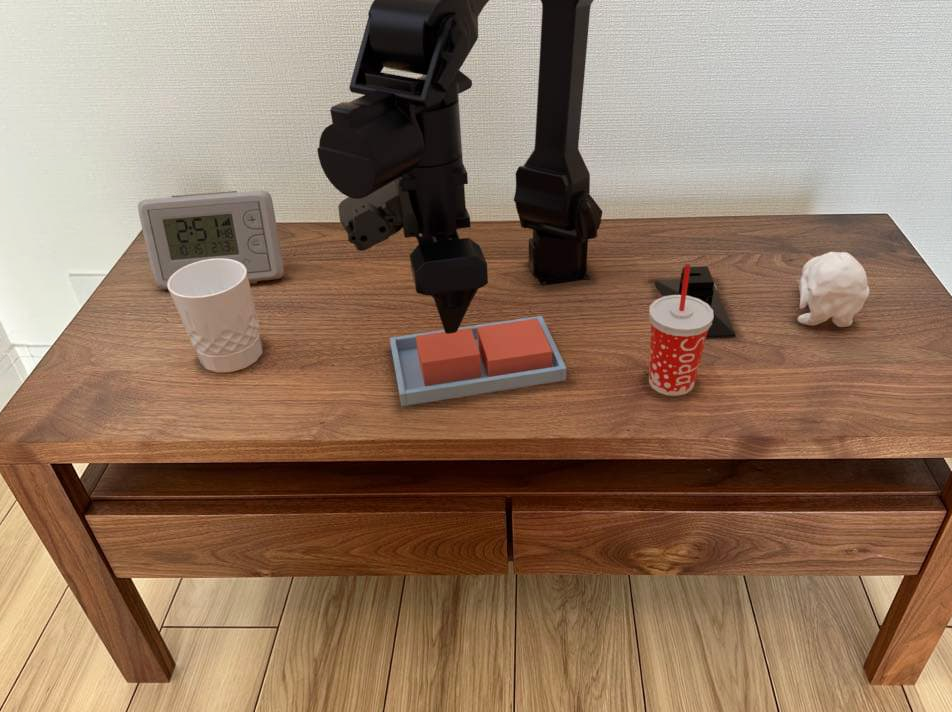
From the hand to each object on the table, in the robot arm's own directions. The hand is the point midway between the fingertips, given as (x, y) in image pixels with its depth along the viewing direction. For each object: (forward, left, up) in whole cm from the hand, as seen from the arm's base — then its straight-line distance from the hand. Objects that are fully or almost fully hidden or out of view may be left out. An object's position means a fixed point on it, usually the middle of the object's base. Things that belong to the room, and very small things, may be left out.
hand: (443, 307), depth 76 cm
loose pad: (0, 0, -8) cm, 8 cm away
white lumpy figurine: (-44, -1, -8) cm, 45 cm away
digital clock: (+25, -27, -8) cm, 38 cm away
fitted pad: (-7, 0, -8) cm, 10 cm away
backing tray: (-3, 0, -8) cm, 9 cm away
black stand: (-30, -5, -8) cm, 31 cm away
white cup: (+23, -9, -8) cm, 26 cm away
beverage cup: (-22, +8, -8) cm, 25 cm away
